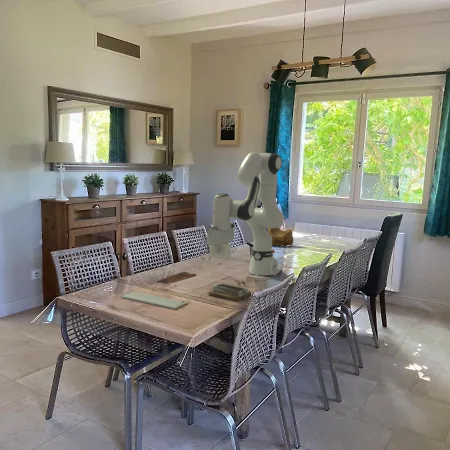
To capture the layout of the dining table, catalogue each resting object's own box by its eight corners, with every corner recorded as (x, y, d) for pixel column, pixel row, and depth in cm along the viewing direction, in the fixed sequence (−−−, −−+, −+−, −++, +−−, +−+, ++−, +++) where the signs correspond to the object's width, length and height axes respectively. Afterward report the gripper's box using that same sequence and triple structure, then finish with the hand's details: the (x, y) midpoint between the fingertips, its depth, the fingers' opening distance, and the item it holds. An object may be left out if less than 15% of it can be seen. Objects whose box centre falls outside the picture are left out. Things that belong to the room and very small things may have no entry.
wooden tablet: (167, 283, 236) (153, 277, 241) (167, 287, 236) (153, 281, 241) (197, 273, 258) (184, 269, 263) (197, 277, 258) (184, 272, 263)
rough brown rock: (259, 245, 360) (259, 227, 357) (270, 241, 372) (271, 224, 369) (283, 250, 345) (283, 232, 342) (294, 246, 358) (295, 228, 354)
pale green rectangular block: (212, 256, 233) (213, 241, 232) (230, 259, 227) (230, 243, 226) (209, 256, 230) (209, 241, 229) (226, 260, 224) (227, 244, 223)
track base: (224, 288, 231) (224, 281, 230) (250, 294, 222) (251, 286, 222) (208, 295, 219) (209, 287, 219) (236, 301, 211) (236, 293, 210)
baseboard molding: (137, 292, 222) (121, 299, 211) (137, 287, 221) (121, 293, 211) (190, 303, 207) (175, 311, 197) (190, 297, 207) (175, 304, 196)
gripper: (214, 228, 216) (213, 255, 218) (236, 224, 233) (235, 250, 235) (203, 226, 219) (203, 254, 221) (226, 223, 236) (225, 248, 238)
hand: (220, 252), depth 228 cm, fingers closed on pale green rectangular block, 3 cm apart
